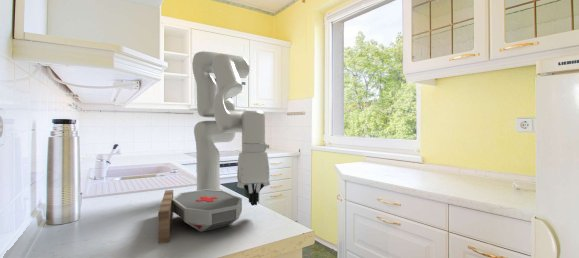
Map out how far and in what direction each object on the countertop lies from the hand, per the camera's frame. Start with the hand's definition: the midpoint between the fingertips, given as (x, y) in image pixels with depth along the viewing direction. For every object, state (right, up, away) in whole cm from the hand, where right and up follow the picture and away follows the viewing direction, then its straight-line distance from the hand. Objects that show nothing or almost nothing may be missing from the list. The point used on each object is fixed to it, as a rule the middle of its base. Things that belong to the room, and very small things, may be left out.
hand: (253, 204), depth 95 cm
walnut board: (-25, -4, -9) cm, 27 cm away
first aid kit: (-14, -5, -5) cm, 15 cm away
